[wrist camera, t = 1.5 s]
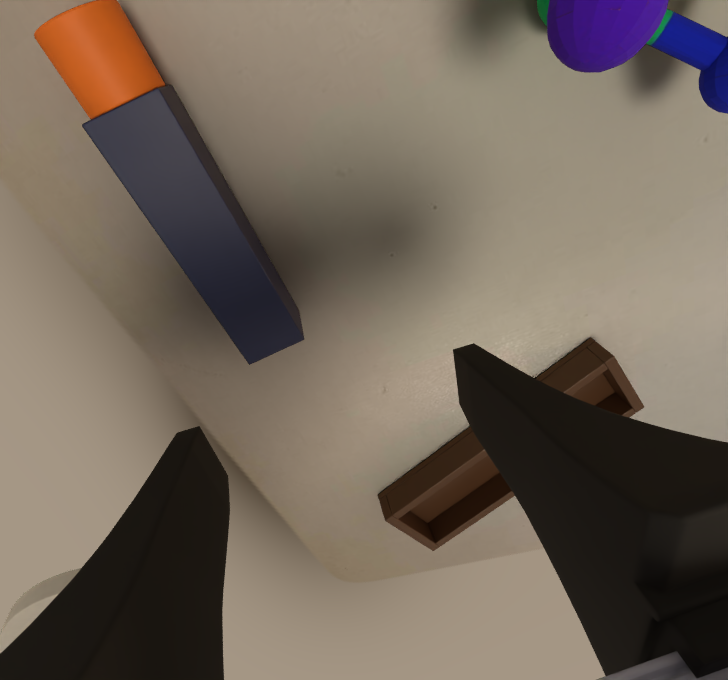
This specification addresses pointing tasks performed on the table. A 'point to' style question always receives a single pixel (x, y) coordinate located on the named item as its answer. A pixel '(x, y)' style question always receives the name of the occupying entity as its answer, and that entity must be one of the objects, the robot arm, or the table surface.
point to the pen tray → (475, 468)
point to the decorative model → (635, 39)
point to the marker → (171, 174)
